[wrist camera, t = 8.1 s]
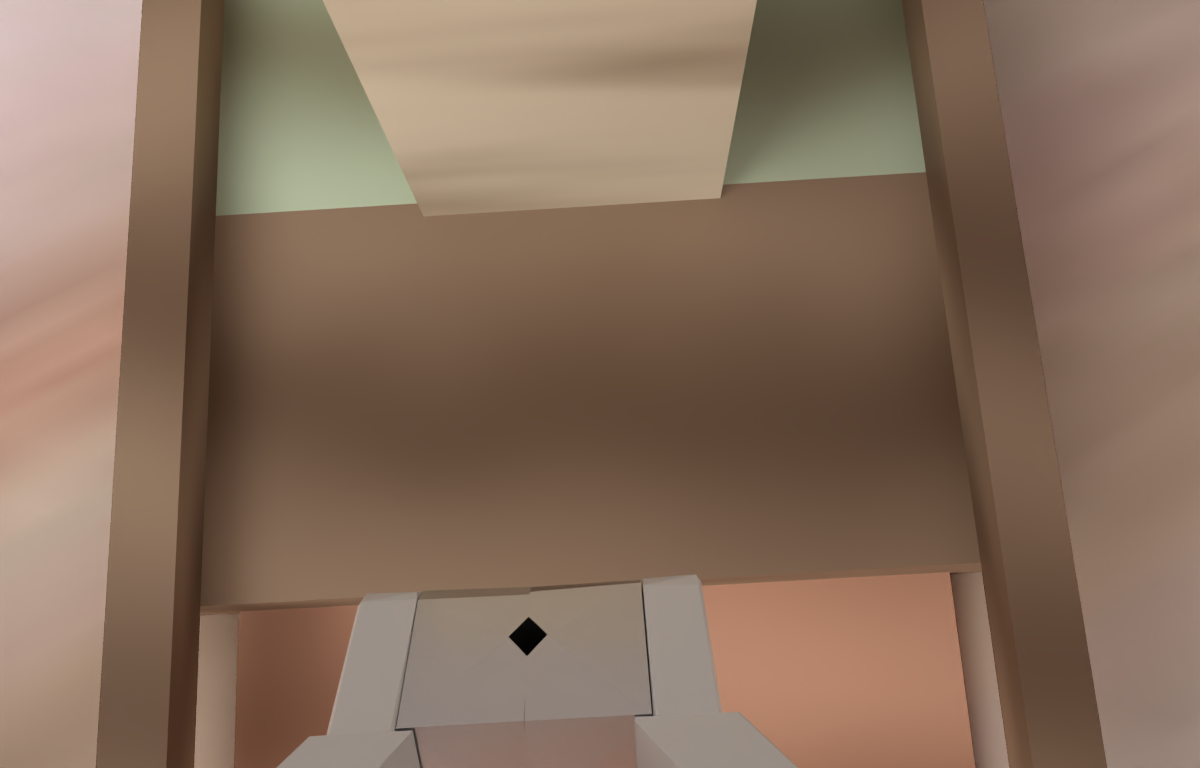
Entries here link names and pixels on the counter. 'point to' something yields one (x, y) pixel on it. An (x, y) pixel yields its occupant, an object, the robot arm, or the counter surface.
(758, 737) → the robot arm
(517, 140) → the birch block
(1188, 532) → the counter surface
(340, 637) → the trap box
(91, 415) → the counter surface
